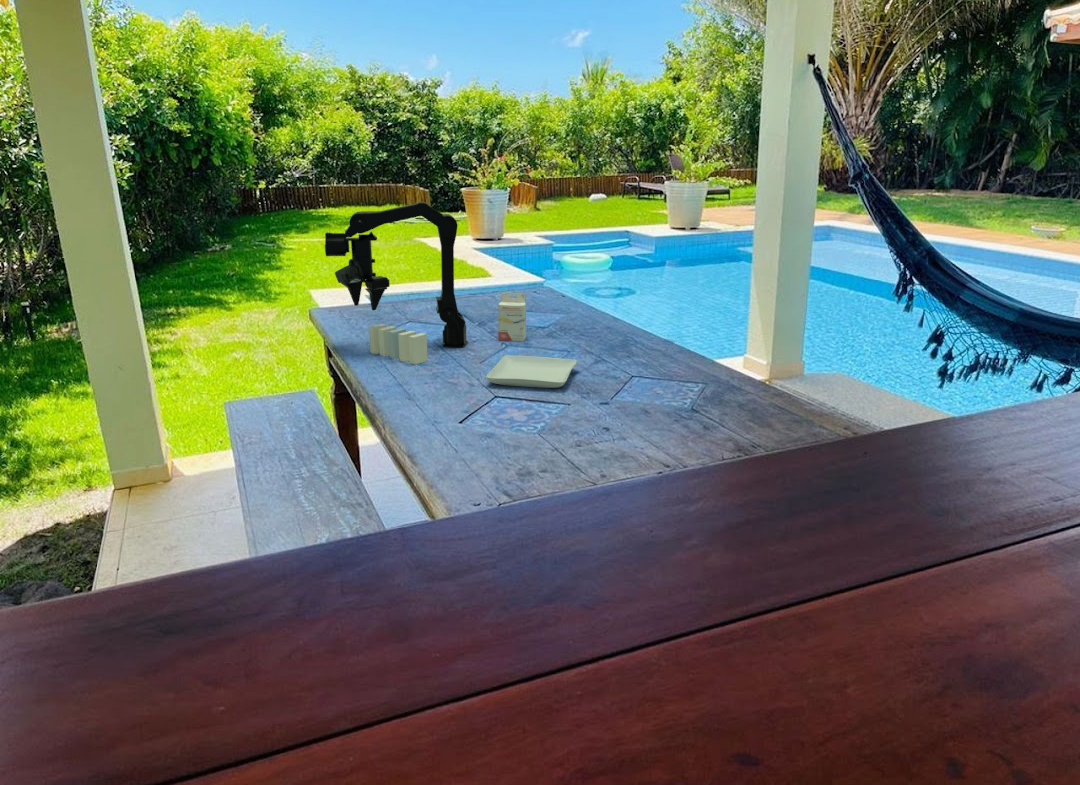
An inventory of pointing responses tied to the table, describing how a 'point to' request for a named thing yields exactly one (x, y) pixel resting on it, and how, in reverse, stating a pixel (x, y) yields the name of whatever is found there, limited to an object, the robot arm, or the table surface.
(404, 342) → the domino
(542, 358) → the salad plate
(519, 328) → the ink cartridge box
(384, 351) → the domino
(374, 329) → the domino
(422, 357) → the domino
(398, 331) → the domino
